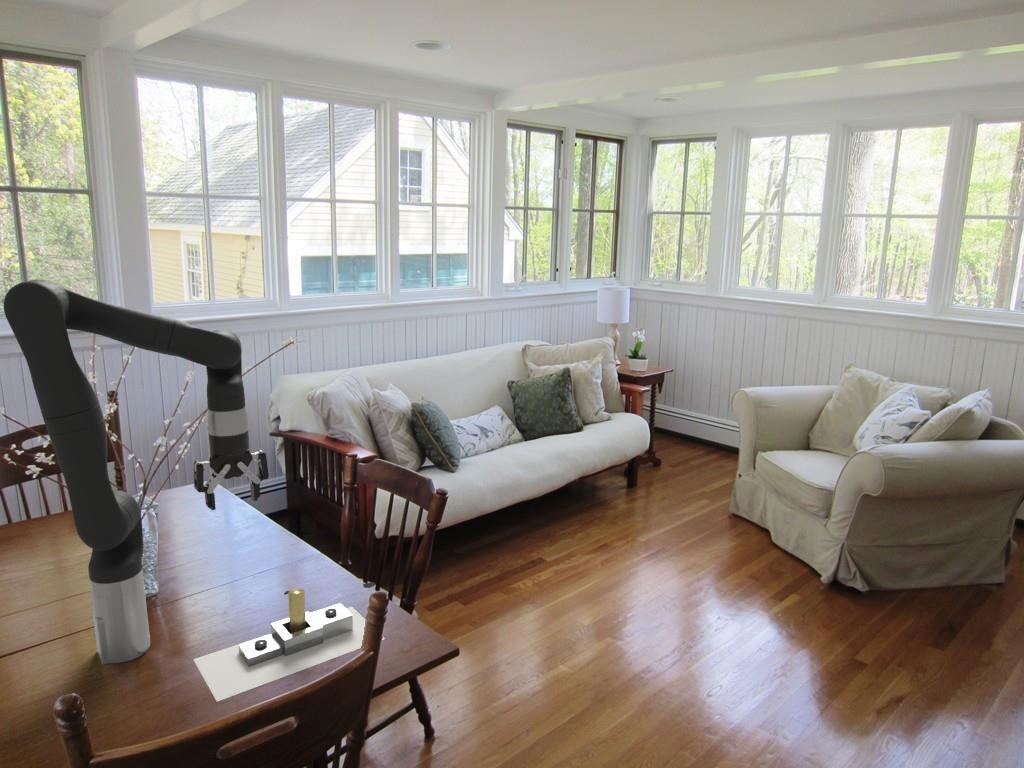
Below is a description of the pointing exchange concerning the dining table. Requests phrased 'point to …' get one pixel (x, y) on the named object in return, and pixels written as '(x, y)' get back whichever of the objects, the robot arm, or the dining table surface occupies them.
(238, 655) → the mat
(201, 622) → the dining table surface
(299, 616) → the brass pin
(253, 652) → the slotted stepped fixture
